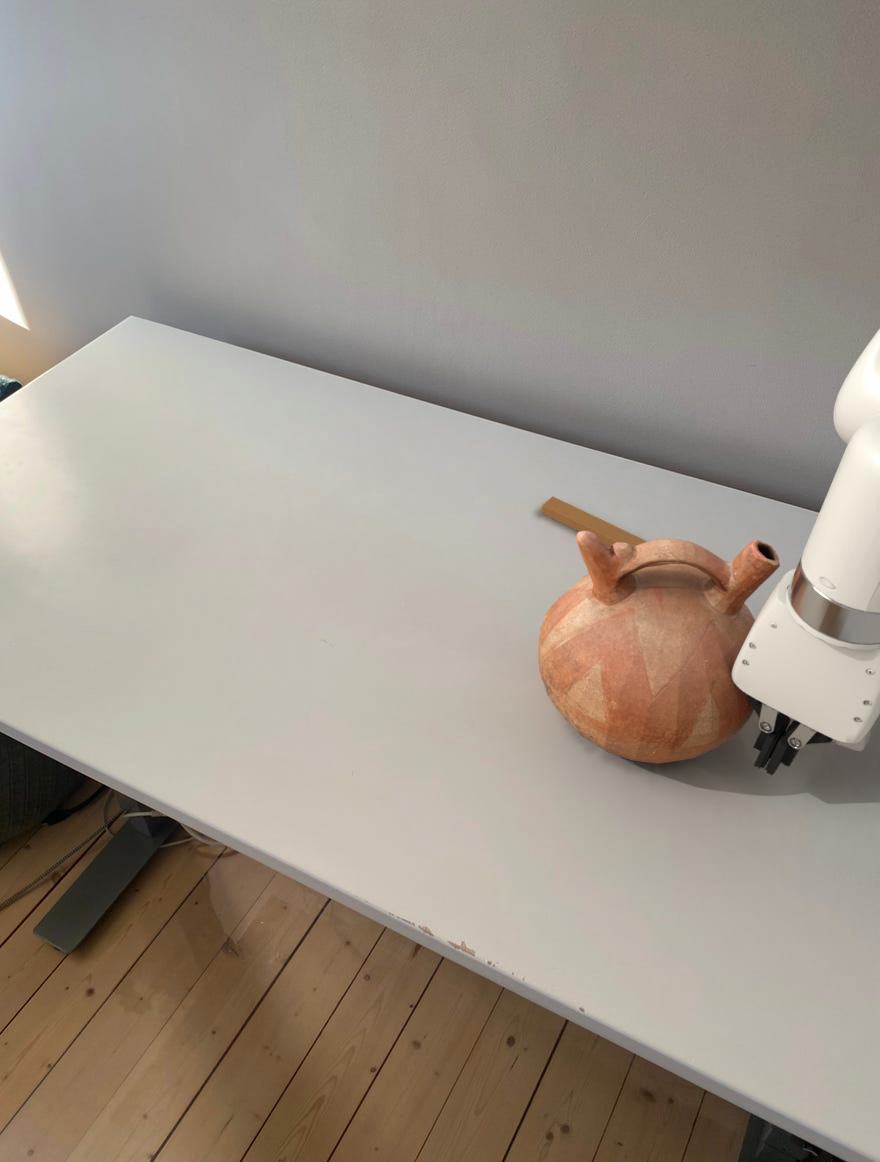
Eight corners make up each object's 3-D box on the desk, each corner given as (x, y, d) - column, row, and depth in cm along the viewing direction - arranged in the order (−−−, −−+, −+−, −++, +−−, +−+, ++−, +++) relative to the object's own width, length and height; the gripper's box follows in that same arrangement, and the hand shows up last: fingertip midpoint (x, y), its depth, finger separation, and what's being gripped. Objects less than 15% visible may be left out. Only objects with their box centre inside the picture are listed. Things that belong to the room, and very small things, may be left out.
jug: (522, 780, 78) (545, 615, 63) (539, 626, 90) (561, 457, 75) (749, 811, 76) (827, 646, 61) (735, 649, 88) (797, 478, 73)
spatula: (557, 499, 103) (558, 490, 102) (740, 586, 93) (743, 577, 92) (534, 518, 101) (535, 510, 100) (719, 610, 91) (722, 602, 90)
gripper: (988, 613, 59) (880, 779, 73) (768, 519, 66) (706, 686, 79) (950, 682, 55) (844, 843, 69) (720, 574, 62) (664, 741, 75)
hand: (770, 759), depth 74 cm, fingers closed
